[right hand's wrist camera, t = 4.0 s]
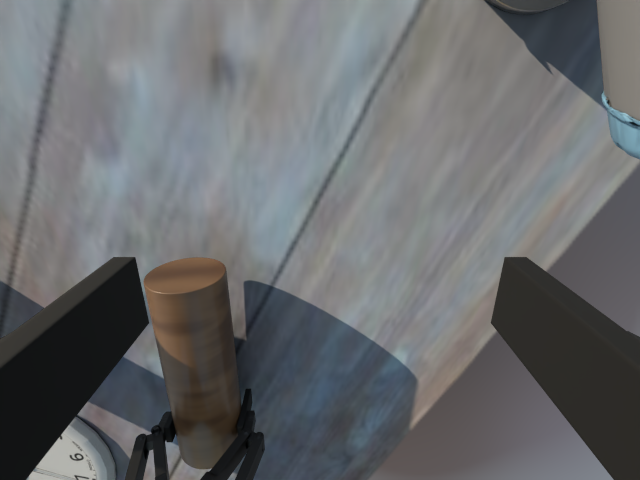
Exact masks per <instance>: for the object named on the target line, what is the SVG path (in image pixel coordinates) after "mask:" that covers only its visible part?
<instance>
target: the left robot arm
mask: <svg viewBox="0 0 640 480" xmlns="http://www.w3.org/2000/svg"><path fill="white" fill-rule="evenodd" d="M251 406H252V394H251V389H246V391H245V395H244V399H243V403H242V408H241V412H240V416H239V420H238V424H237V432H238V436H237V437H236V439H235V440H234V441H233V443H232V444H231V445H230V446H229V448H228V449H227V450H226V451H225V453H224V454H223V455H222V456H221V458H220V459H219V460H218V462H217V463H216V464H215V465H214V467H213V468H212V469H211V470H210V471H209V472H206V473H205V474H204V476H203V477H202V478H201V479H200V480H227V479H228V478H229V476H230V475H231V474H232V472H233V471H234V470H235V468H236V467H237V465H238V464H239V463H240V461H241V460H242V459H243V457H244V456H245V454H246V453H247V454H246V456H245V458H244V461H243V463H242V465H241V467H240V470H239V472H238V474H237V477H236V479H235V480H253V478H254V476H255V473H256V470H257V468H258V465H259V463H260V460H261V458H262V455H263V453H264V450H265V446H264V435H263V433H261V432H258V433H254V427H255V421H256V420H255V412H254V411H251ZM151 432H152V434H150V435H145V434H140V435H139V436H137V438H136V441H135V444H134V448H133V452H132V455H131V459H130V463H129V466H128V470H127V474H126V478H125V480H143V477H144V472H145V468H146V463H147V459H148V455H149V450H153V451H154V464H155V476H156V477H155V480H169V472H168V464H167V455H166V447H165V441H167V442H173V439H174V437H175V434H176V431H175V427H174V422H173V417H172V413H171V412H166V413H165V414H164V415H163V417H162V419H161V421H160V423H159V425H156V426H154V427H153V428H152V429H151Z"/></svg>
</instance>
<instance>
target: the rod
mask: <svg viewBox="0 0 640 480" xmlns="http://www.w3.org/2000/svg"><path fill="white" fill-rule="evenodd" d="M144 287H145V292H146V297H147V301H148V306H149V311H150V315H151V320H152V324H153V329H154V334H155V338H156V343H157V348H158V352H159V357H160V362H161V366H162V371H163V376H164V380H165V385H166V390H167V394H168V399H169V403H170V408H171V413H172V417H173V422H174V427H175V431H176V436H177V441H178V445H179V450H180V454H181V457H182V459H183V460H184V462H185V463H186V464H188V465H189V466H191V467H193V468H197V469H210V468H213V467H214V465H215V464H216V463H217V462H218V460H219V459H220V458H221V456H222V455H223V454H224V453H225V451H226V450H227V449H228V448H229V446H230V445H231V444H232V443H233V441H234V440H235V439H236V437H237V436H238V432H237V424H238V420H239V416H240V412H241V408H242V406H241V397H240V388H239V379H238V370H237V362H236V353H235V344H234V335H233V326H232V317H231V308H230V299H229V290H228V282H227V273H226V267H225V265H224V264H223V263H221V262H220V261H217V260H214V259H210V258H186V259H180V260H176V261H172V262H169V263H166V264H163V265H161V266H159V267H157V268H155V269H153V270H152V271H150V272H149V273H148V274H147V275H146V277H145V279H144Z"/></svg>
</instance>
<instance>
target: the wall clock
mask: <svg viewBox="0 0 640 480" xmlns="http://www.w3.org/2000/svg"><path fill="white" fill-rule="evenodd" d="M26 480H116V471H115V462H114V460H113V457H112V455H111V452H110V450H109V448H108V447H107V445H106V444H105V443H104V441H103V440H102V439H101V438H100V436H99V435H98V434H97V433H96V432H95V431H94V430H93V429H92V428H90V427H89V426H88V425H87V424H85V423H84V422H83V421H82V420H80V419H79V418H78V417H75V418H74V419H73V421H72V422H71V423H70V424H69V426H68V427H67V428H66V429H65V431H64V432H63V433H62V435H61V436H60V437H59V438H58V440H57V441H56V442H55V443H54V445H53V446H52V447H51V449H50V450H49V451H48V452H47V454H46V455H45V456H44V458H43V459H42V460H41V461H40V463H39V464H38V465H37V466H36V468H35V469H34V470H33V472H32V473H31V474H30V475H29V477H28V478H27V479H26Z"/></svg>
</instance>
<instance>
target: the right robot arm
mask: <svg viewBox="0 0 640 480" xmlns="http://www.w3.org/2000/svg"><path fill="white" fill-rule="evenodd" d="M486 1H488V2H489V3H490V4H491V5H493V6H495V7H496V8H498V9H500V10H503V11H506V12H509V13H514V14H535V13H540V12H543V11H547V10H549V9H552V8H554V7H557V6H559V5H562V4H564V3H566V2H568V1H570V0H486ZM597 12H598V24H599V37H600V49H601V62H602V74H603V87H604V91H603V92H602V102H603V105H604V106H605V108H606V109H607V114H608V121H609V127H610V134H611V137H612V139H613V141H614V143H615V144H616V145H617V146H618V147H619V148H621V149H622V150H624V151H625V152H626V153H627V154H629V155H630V156H632V157H635V158H637V159H640V0H597ZM148 324H149V320H148V316H147V311H146V306H145V301H144V297H143V292H142V287H141V282H140V278H139V273H138V268H137V263H136V259H135V257H113V258H112V259H111V260H109V261H108V262H107V263H105V264H104V265H102V266H101V267H100V268H98V269H97V270H96V271H94V272H93V273H92V274H90V275H89V276H88V277H86V278H85V279H83V280H82V281H81V282H79V283H78V284H77V285H75V286H74V287H73V288H71V289H70V290H69V291H67V292H66V293H65V294H63V295H62V296H60V297H59V298H58V299H56V300H55V301H54V302H52V303H51V304H50V305H48V306H47V307H46V308H44V309H43V310H42V311H40V312H39V313H37V314H36V315H35V316H33V317H32V318H31V319H29V320H28V321H27V322H25V323H24V324H23V325H21V326H20V327H19V328H17V329H16V330H14V331H13V332H12V333H10V334H8V335H6V336H4V337H2V338H0V480H26V479H27V478H28V477H29V475H30V474H31V473H32V472H33V470H34V469H35V468H36V466H37V465H38V464H39V463H40V461H41V460H42V459H43V458H44V456H45V455H46V454H47V452H48V451H49V450H50V449H51V447H52V446H53V445H54V443H55V442H56V441H57V440H58V438H59V437H60V436H61V435H62V433H63V432H64V431H65V429H66V428H67V427H68V426H69V424H70V423H71V422H72V421H73V419H74V418H75V417H76V415H77V414H78V413H79V412H80V410H81V409H82V408H83V406H84V405H85V404H86V403H87V401H88V400H89V399H90V398H91V396H92V395H93V394H94V392H95V391H96V390H97V389H98V387H99V386H100V385H101V384H102V382H103V381H104V380H105V378H106V377H107V376H108V375H109V373H110V372H111V371H112V369H113V368H114V367H115V366H116V364H117V363H118V362H119V361H120V359H121V358H122V357H123V355H124V354H125V353H126V352H127V350H128V349H129V348H130V347H131V345H132V344H133V343H134V341H135V340H136V339H137V338H138V336H139V335H140V334H141V333H142V331H143V330H144V329H145V327H146V326H147V325H148ZM491 324H492V325H493V326H494V327H495V329H496V330H497V331H498V333H499V334H500V335H501V336H502V338H503V339H504V340H505V341H506V343H507V344H508V345H509V346H510V348H511V349H512V350H513V352H514V353H515V354H516V355H517V357H518V358H519V359H520V361H521V362H522V363H523V364H524V366H525V367H526V368H527V369H528V371H529V372H530V373H531V375H532V376H533V377H534V378H535V380H536V381H537V382H538V383H539V385H540V386H541V387H542V389H543V390H544V391H545V392H546V394H547V395H548V396H549V398H550V399H551V400H552V401H553V403H554V404H555V405H556V406H557V408H558V409H559V410H560V412H561V413H562V414H563V415H564V417H565V418H566V419H567V421H568V422H569V423H570V424H571V426H572V427H573V428H574V429H575V431H576V432H577V433H578V435H579V436H580V437H581V438H582V440H583V441H584V442H585V443H586V445H587V446H588V447H589V449H590V450H591V451H592V452H593V454H594V455H595V456H596V458H597V459H598V460H599V461H600V463H601V464H602V465H603V466H604V468H605V469H606V470H607V472H608V473H609V474H610V475H611V477H612V478H613V479H614V480H640V337H639V336H637V335H635V334H633V333H631V332H629V331H625V330H624V329H623V328H621V327H620V326H619V325H617V324H616V323H615V322H613V321H612V320H611V319H609V318H608V317H607V316H605V315H604V314H602V313H601V312H600V311H598V310H597V309H596V308H594V307H593V306H592V305H590V304H589V303H588V302H586V301H585V300H584V299H582V298H581V297H580V296H578V295H577V294H575V293H574V292H573V291H571V290H570V289H569V288H567V287H566V286H565V285H563V284H562V283H561V282H559V281H558V280H557V279H555V278H554V277H552V276H551V275H550V274H548V273H547V272H546V271H544V270H543V269H542V268H540V267H539V266H538V265H536V264H535V263H533V262H532V261H531V260H529V259H528V258H527V257H505V259H504V263H503V268H502V273H501V278H500V282H499V287H498V292H497V297H496V301H495V306H494V311H493V316H492V320H491Z"/></svg>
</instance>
